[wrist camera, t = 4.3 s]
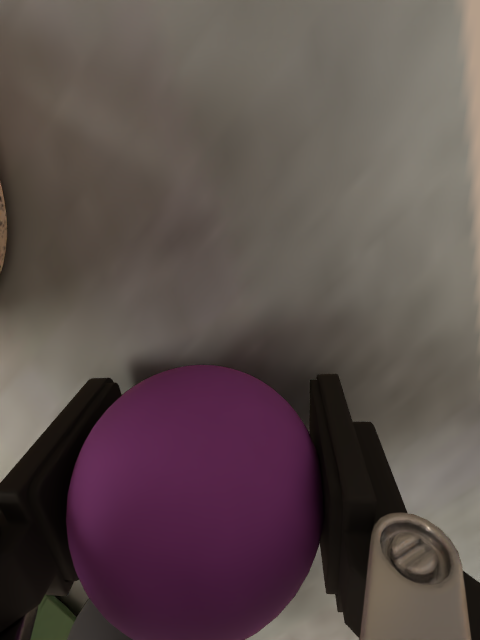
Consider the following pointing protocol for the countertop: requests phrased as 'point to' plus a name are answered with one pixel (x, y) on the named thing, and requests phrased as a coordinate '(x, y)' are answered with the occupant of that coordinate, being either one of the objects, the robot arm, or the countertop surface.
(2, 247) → the teacup with lid
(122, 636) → the charcoal ball
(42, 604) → the green bowl
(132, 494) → the purple ball
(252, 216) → the countertop surface
